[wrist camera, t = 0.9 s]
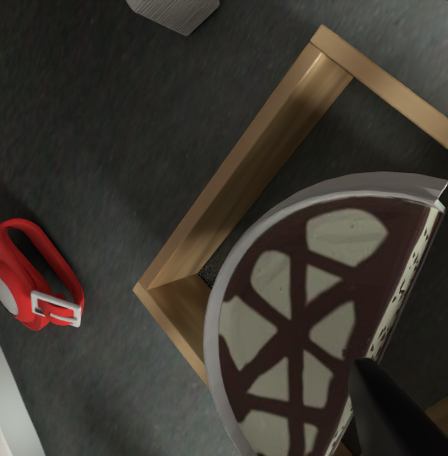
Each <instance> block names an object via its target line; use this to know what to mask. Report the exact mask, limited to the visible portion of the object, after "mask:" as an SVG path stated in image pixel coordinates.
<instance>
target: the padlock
mask: <svg viewBox="0 0 448 456" xmlns="http://www.w3.org/2000/svg"><path fill="white" fill-rule="evenodd" d="M126 2H127V3H128V5H129V6H130V7H131V9H132V10H133V11H134V12H136V13H138V14H140V15H143V16H144V17H146V18H148V19H151V20H153V21H155V22H157V23H159V24H161V25H163V26H165V27H167V28H170V29H172V30H174V31H176V32H178V33H180V34H182V35H184V36H188V35H189V34H191V33H192V32H193V31H194V30H195V29H196V28H197V27H198V26H199V25H200V24H201V23H202V22H203V21H204V20H205V19H206V18H207V17H208V16H209V15H210V14H211V13H212V12H214V11H215V10H216V9H217V8H218V7H219V5H220V2H219V0H126Z"/></svg>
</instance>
